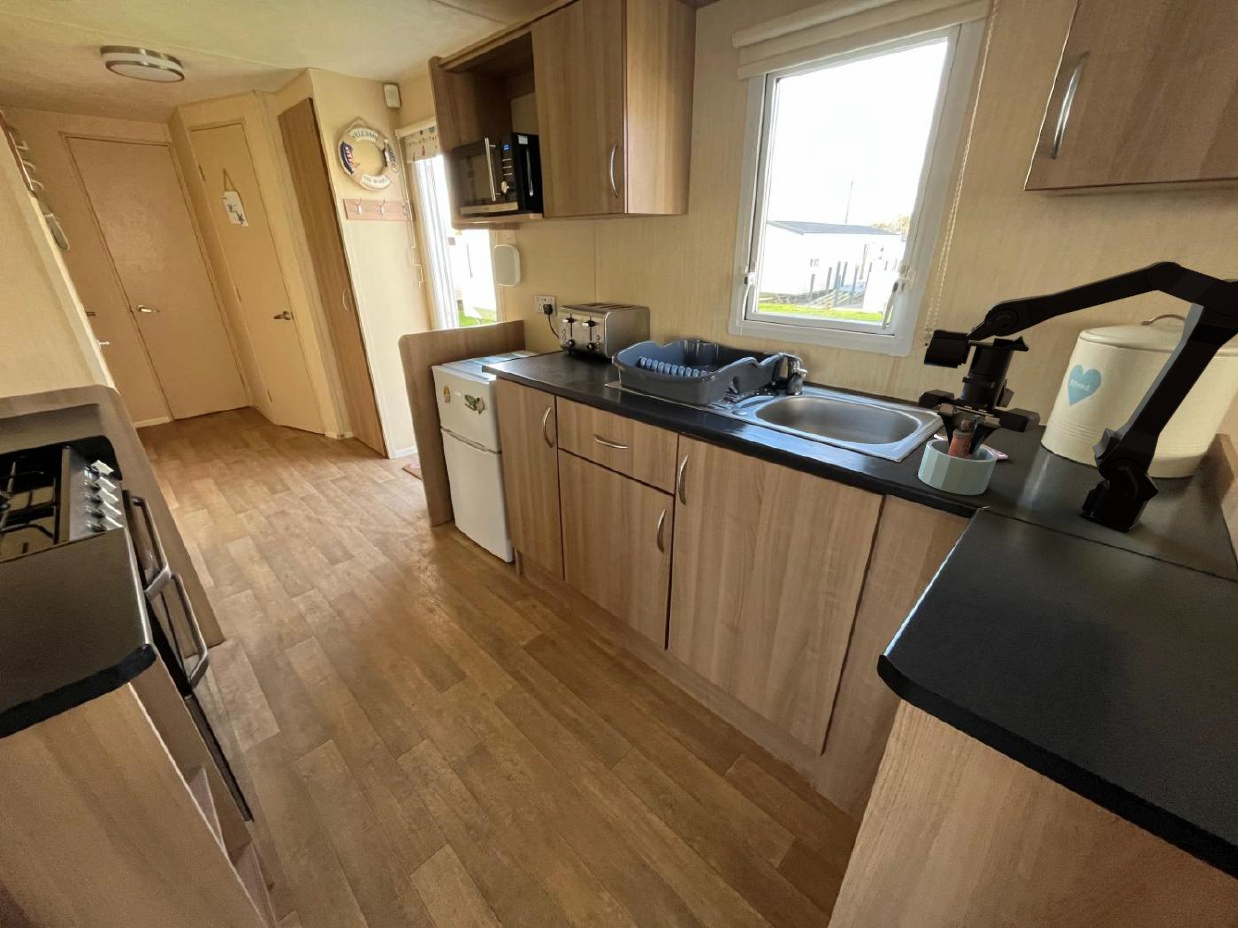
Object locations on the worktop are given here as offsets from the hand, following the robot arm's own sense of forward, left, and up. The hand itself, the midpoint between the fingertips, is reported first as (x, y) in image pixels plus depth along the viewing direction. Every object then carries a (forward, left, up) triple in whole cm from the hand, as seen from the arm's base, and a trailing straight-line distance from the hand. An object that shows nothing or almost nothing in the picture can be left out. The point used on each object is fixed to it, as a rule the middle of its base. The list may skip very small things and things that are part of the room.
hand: (961, 451), depth 95 cm
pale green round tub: (0, 0, -7) cm, 7 cm away
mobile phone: (+8, -23, -7) cm, 25 cm away
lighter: (0, 0, -3) cm, 3 cm away
